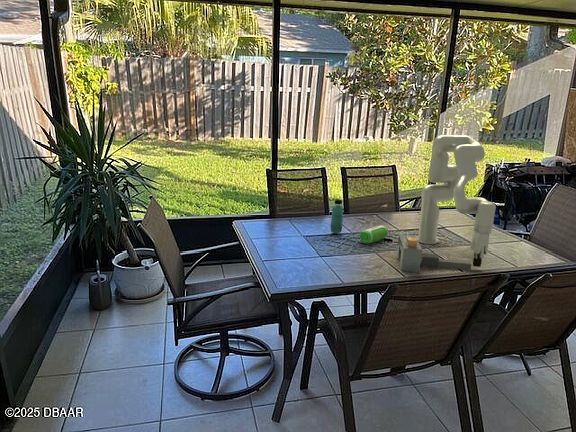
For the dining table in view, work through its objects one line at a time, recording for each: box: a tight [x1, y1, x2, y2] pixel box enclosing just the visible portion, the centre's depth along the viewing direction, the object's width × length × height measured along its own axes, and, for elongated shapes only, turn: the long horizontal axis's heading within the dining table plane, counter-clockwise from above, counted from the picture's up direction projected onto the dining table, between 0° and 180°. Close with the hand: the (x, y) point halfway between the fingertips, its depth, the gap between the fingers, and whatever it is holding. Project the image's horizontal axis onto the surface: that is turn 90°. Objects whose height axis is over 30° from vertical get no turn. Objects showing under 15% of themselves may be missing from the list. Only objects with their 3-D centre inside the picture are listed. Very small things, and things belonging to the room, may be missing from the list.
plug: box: [420, 252, 473, 271], centre depth 198 cm, size 5×24×5 cm, turn 82°
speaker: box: [359, 225, 389, 244], centre depth 230 cm, size 18×7×8 cm, turn 133°
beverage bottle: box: [330, 198, 344, 234], centre depth 237 cm, size 6×7×20 cm
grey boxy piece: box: [396, 234, 423, 273], centre depth 199 cm, size 20×8×14 cm, turn 172°
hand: (476, 265), depth 196 cm, fingers closed
